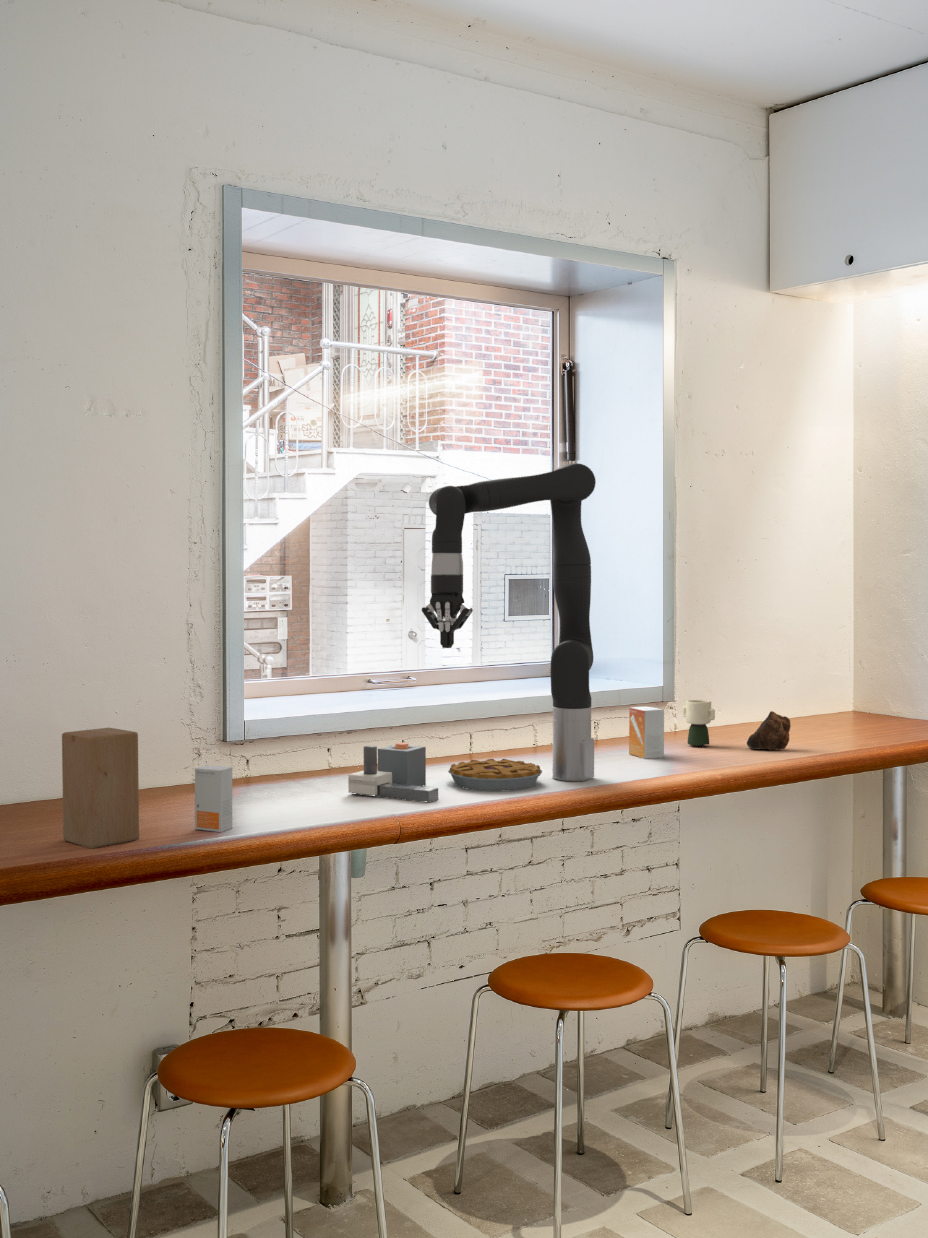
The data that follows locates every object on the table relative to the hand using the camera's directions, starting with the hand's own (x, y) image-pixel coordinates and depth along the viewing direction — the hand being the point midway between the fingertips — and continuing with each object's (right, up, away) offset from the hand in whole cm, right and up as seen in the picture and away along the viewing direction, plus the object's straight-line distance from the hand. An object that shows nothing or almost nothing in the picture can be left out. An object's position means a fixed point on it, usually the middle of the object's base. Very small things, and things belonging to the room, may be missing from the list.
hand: (446, 647), depth 262 cm
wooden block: (-63, -34, -54) cm, 90 cm away
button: (-10, -27, -1) cm, 29 cm away
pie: (+11, -32, +3) cm, 34 cm away
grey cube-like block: (-10, -32, -1) cm, 34 cm away
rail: (-11, -33, -13) cm, 37 cm away
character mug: (+71, -30, +61) cm, 98 cm away
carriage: (-17, -32, -10) cm, 38 cm away
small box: (+53, -31, +44) cm, 75 cm away
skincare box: (-44, -34, -45) cm, 72 cm away
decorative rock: (+90, -30, +55) cm, 109 cm away
